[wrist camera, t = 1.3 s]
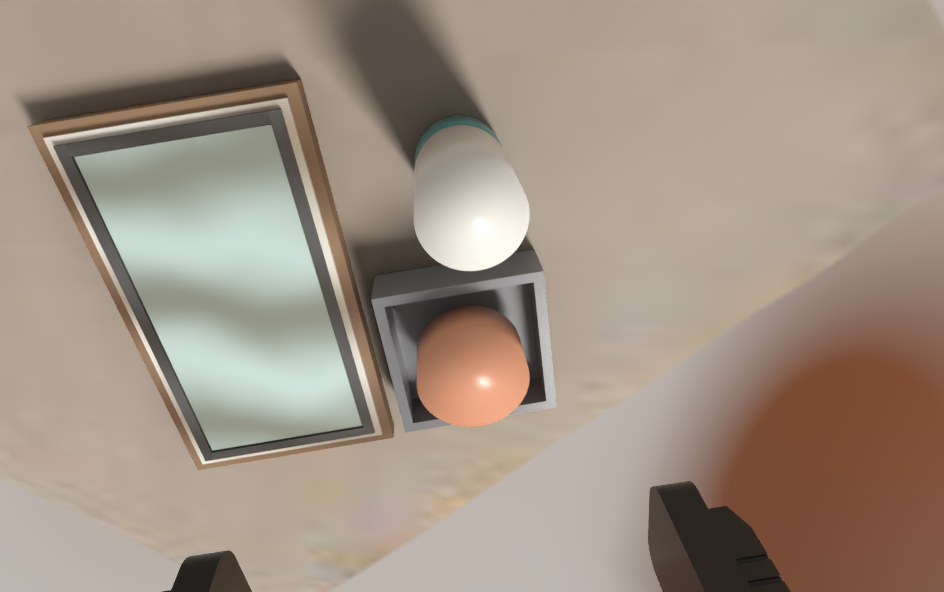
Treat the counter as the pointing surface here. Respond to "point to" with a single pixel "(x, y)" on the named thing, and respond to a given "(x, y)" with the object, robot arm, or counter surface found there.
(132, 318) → the framed mirror
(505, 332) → the button
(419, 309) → the button housing
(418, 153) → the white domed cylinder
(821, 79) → the counter surface
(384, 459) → the counter surface
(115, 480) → the counter surface
